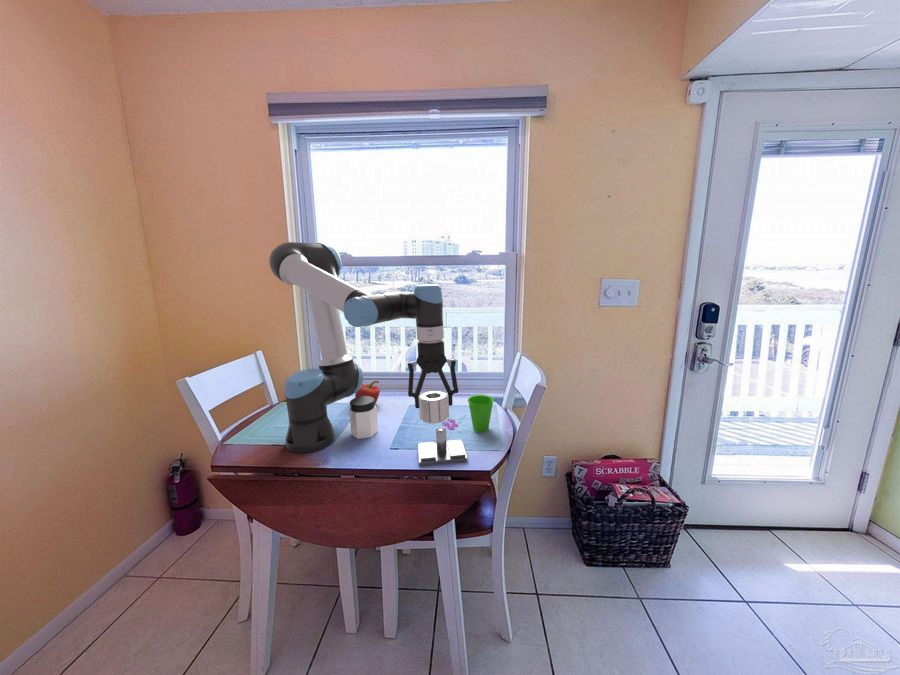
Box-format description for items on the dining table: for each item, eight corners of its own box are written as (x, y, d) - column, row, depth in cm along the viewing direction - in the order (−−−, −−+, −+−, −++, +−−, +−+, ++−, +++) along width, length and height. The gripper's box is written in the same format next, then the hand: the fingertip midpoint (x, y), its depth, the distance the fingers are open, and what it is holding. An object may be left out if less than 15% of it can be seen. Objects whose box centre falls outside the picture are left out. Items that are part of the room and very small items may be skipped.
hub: (422, 424, 97) (421, 401, 96) (422, 414, 104) (421, 392, 103) (447, 422, 98) (446, 399, 97) (445, 412, 105) (444, 390, 104)
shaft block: (419, 465, 99) (418, 439, 98) (418, 447, 109) (417, 423, 107) (467, 461, 101) (467, 435, 99) (462, 444, 111) (461, 420, 109)
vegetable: (375, 398, 150) (373, 376, 148) (386, 405, 142) (385, 382, 140) (351, 405, 144) (349, 382, 141) (362, 413, 136) (360, 389, 134)
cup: (496, 434, 116) (496, 404, 114) (469, 436, 116) (468, 405, 113) (491, 422, 125) (491, 394, 123) (466, 424, 125) (466, 395, 122)
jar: (382, 433, 119) (379, 400, 117) (360, 441, 114) (357, 407, 111) (368, 424, 126) (366, 393, 123) (347, 432, 120) (344, 400, 118)
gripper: (393, 345, 92) (399, 425, 97) (467, 341, 94) (470, 419, 99) (395, 339, 100) (400, 414, 104) (464, 335, 102) (466, 409, 106)
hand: (434, 416), depth 102 cm, fingers closed on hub, 7 cm apart
